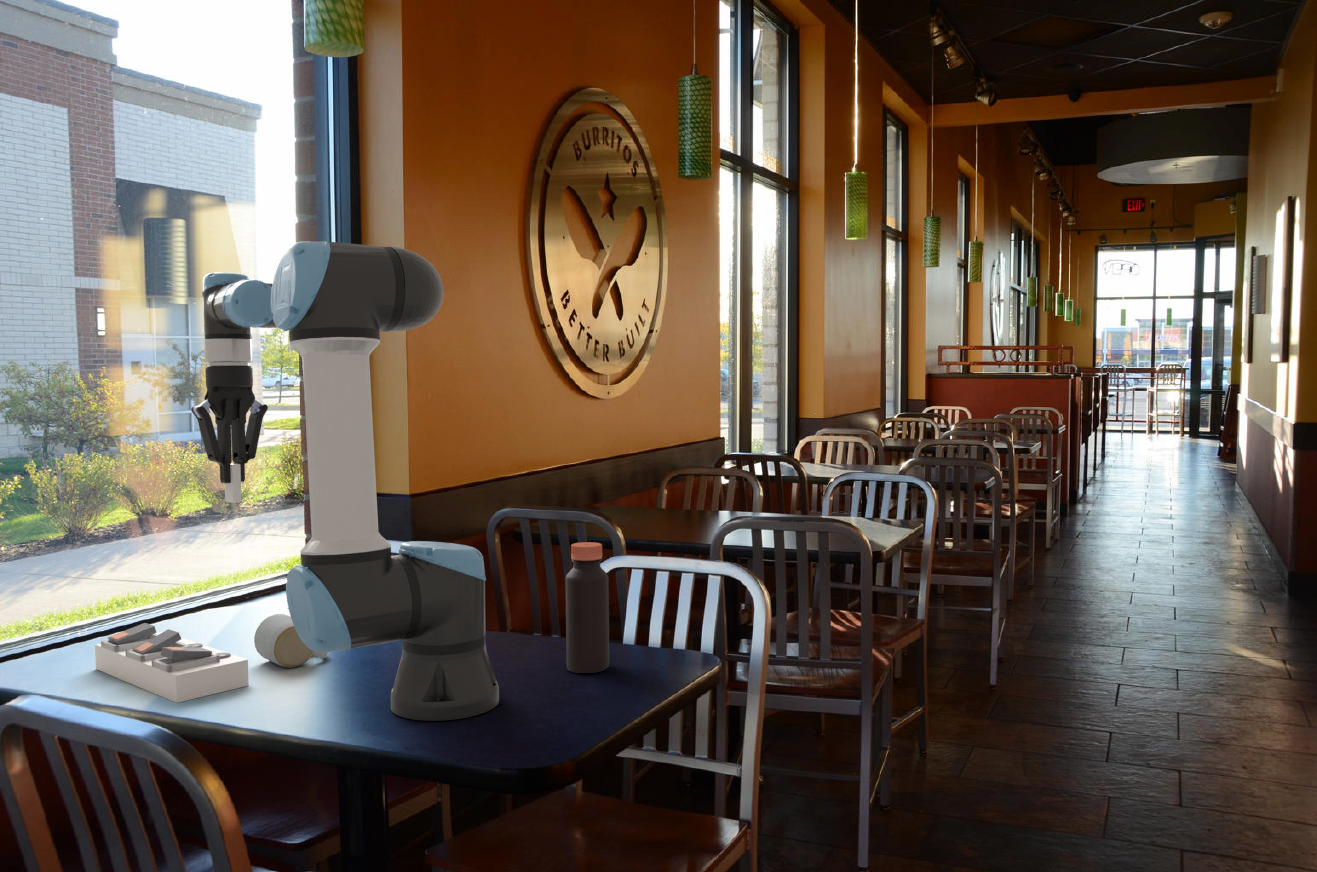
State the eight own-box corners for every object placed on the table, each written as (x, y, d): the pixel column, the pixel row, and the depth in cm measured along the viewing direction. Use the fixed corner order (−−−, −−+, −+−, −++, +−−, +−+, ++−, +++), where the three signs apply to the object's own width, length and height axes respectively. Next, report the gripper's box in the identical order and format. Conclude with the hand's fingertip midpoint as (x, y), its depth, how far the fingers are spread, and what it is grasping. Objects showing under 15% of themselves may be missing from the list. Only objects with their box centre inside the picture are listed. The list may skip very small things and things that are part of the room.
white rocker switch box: (248, 685, 161) (247, 653, 160) (176, 702, 152) (175, 669, 152) (164, 654, 179) (163, 626, 178) (96, 668, 170) (94, 638, 170)
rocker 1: (156, 632, 171) (154, 625, 170) (119, 647, 166) (117, 640, 166) (146, 629, 173) (144, 622, 173) (109, 644, 169) (107, 636, 168)
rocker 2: (210, 659, 159) (212, 650, 159) (171, 659, 155) (173, 650, 155) (199, 655, 161) (201, 646, 162) (160, 655, 157) (162, 646, 157)
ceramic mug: (275, 673, 167) (274, 625, 167) (253, 663, 173) (253, 616, 173) (337, 661, 174) (337, 615, 174) (314, 652, 180) (314, 607, 180)
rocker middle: (181, 639, 165) (178, 631, 164) (145, 659, 161) (142, 652, 160) (171, 635, 167) (168, 628, 167) (135, 656, 163) (132, 648, 163)
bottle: (608, 674, 165) (607, 547, 164) (565, 675, 165) (563, 548, 164) (610, 662, 172) (608, 540, 170) (568, 663, 172) (566, 541, 170)
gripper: (252, 364, 188) (256, 496, 189) (180, 364, 178) (185, 503, 179) (275, 364, 183) (279, 499, 184) (203, 364, 173) (207, 507, 174)
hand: (233, 501), depth 182 cm, fingers closed
